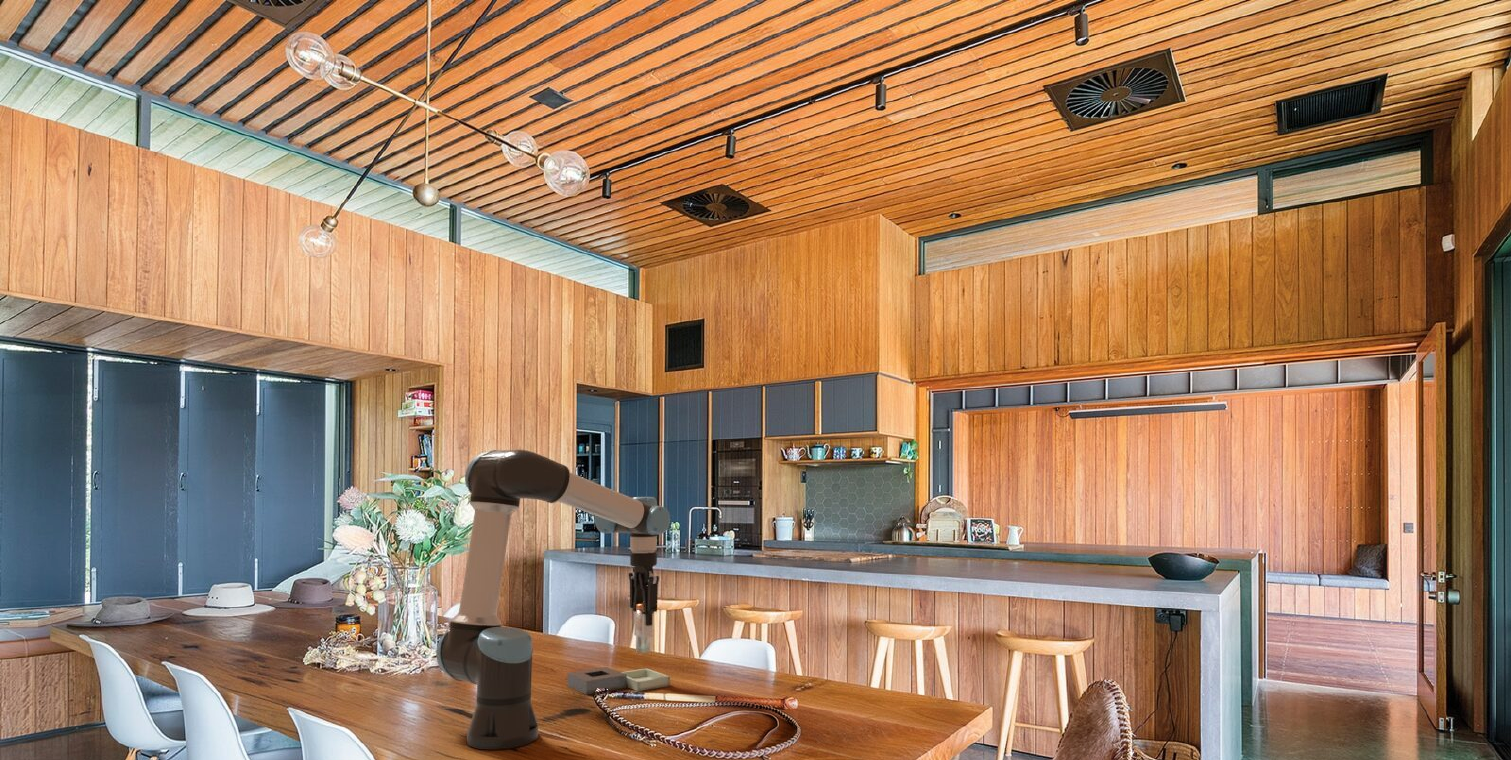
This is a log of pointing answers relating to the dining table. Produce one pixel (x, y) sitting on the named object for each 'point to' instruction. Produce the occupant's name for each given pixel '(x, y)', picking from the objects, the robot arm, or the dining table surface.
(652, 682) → the tray
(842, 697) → the dining table surface
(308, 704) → the dining table surface
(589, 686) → the block
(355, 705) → the dining table surface
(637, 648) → the orange capped vial
